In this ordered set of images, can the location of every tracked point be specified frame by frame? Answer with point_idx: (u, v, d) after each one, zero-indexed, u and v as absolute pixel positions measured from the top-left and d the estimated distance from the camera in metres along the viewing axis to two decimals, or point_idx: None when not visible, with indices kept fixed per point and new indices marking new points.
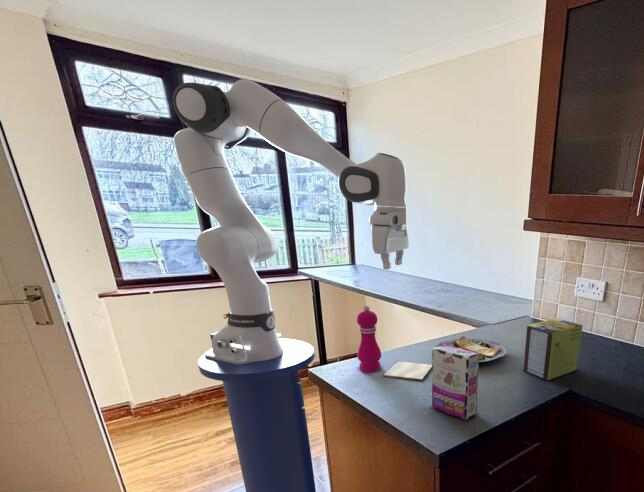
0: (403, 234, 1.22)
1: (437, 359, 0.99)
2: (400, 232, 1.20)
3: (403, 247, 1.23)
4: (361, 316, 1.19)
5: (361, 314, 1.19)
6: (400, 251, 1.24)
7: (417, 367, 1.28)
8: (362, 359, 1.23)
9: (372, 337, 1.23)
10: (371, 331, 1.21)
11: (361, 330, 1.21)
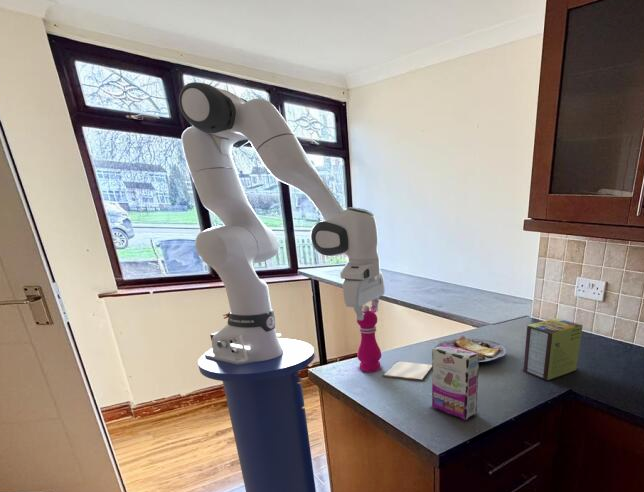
0: (377, 282, 1.22)
1: (437, 359, 0.99)
2: (374, 281, 1.20)
3: (378, 295, 1.23)
4: None
5: None
6: (375, 299, 1.24)
7: (417, 367, 1.28)
8: (362, 359, 1.23)
9: (372, 337, 1.23)
10: (371, 331, 1.21)
11: (361, 330, 1.21)
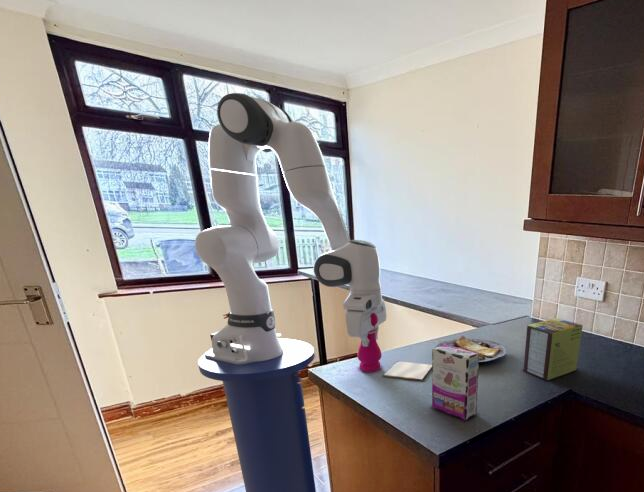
0: (379, 310, 1.25)
1: (437, 359, 0.99)
2: (376, 309, 1.23)
3: (380, 322, 1.26)
4: None
5: None
6: None
7: (417, 367, 1.28)
8: (362, 359, 1.23)
9: (373, 338, 1.23)
10: (371, 331, 1.21)
11: None
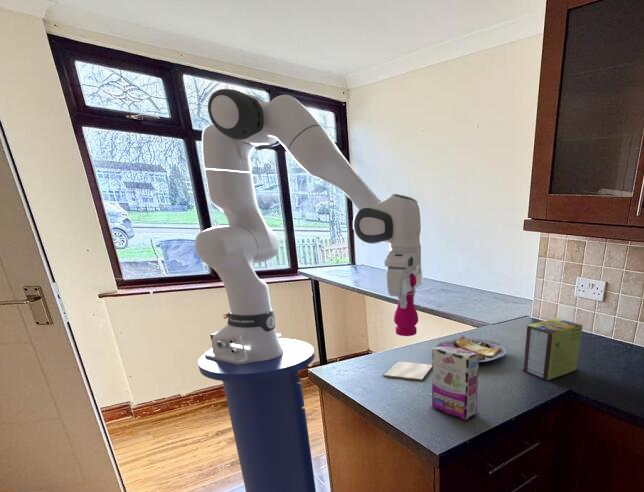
0: (417, 272, 1.20)
1: (437, 359, 0.99)
2: (414, 271, 1.18)
3: (417, 285, 1.21)
4: None
5: None
6: None
7: (417, 367, 1.28)
8: (399, 322, 1.18)
9: (411, 300, 1.17)
10: (410, 293, 1.16)
11: None
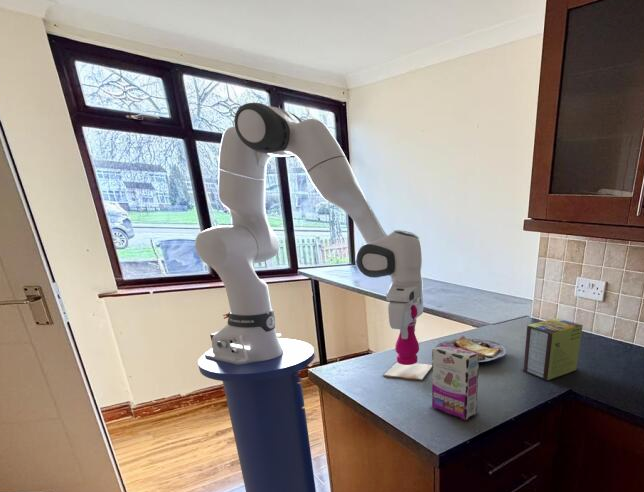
0: (418, 302, 1.24)
1: (437, 359, 0.99)
2: None
3: (418, 315, 1.24)
4: None
5: None
6: None
7: (417, 367, 1.28)
8: (401, 352, 1.21)
9: (412, 330, 1.21)
10: (411, 324, 1.19)
11: None
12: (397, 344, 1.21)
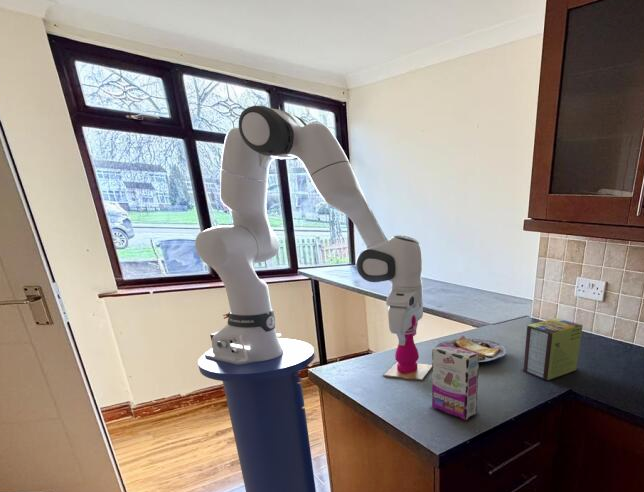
0: (418, 307, 1.24)
1: (437, 359, 0.99)
2: (415, 306, 1.22)
3: (418, 319, 1.25)
4: None
5: None
6: None
7: (417, 367, 1.28)
8: (400, 360, 1.22)
9: (411, 338, 1.22)
10: (410, 332, 1.20)
11: None
12: (397, 352, 1.23)
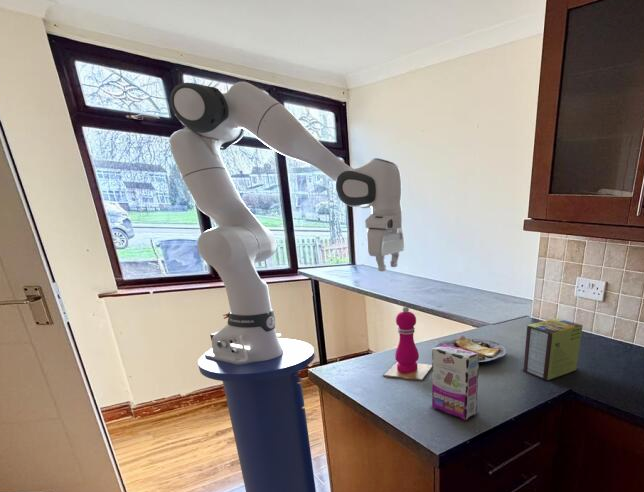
0: (398, 237, 1.25)
1: (437, 359, 0.99)
2: (395, 235, 1.23)
3: (398, 250, 1.26)
4: (401, 317, 1.18)
5: (401, 315, 1.18)
6: (395, 253, 1.27)
7: (417, 367, 1.28)
8: (401, 360, 1.22)
9: (411, 338, 1.22)
10: (410, 332, 1.20)
11: (400, 331, 1.20)
12: (397, 352, 1.23)
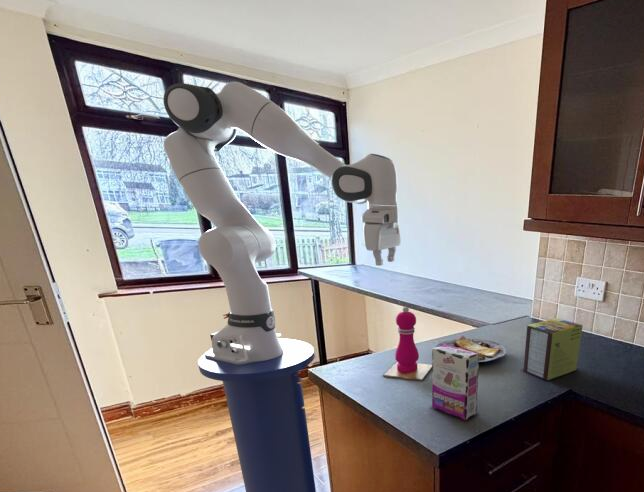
0: (395, 232, 1.27)
1: (437, 359, 0.99)
2: (392, 230, 1.24)
3: (395, 244, 1.27)
4: (401, 317, 1.18)
5: (401, 315, 1.18)
6: (392, 248, 1.29)
7: (417, 367, 1.28)
8: (401, 360, 1.22)
9: (411, 338, 1.22)
10: (410, 332, 1.20)
11: (400, 331, 1.20)
12: (397, 352, 1.23)
